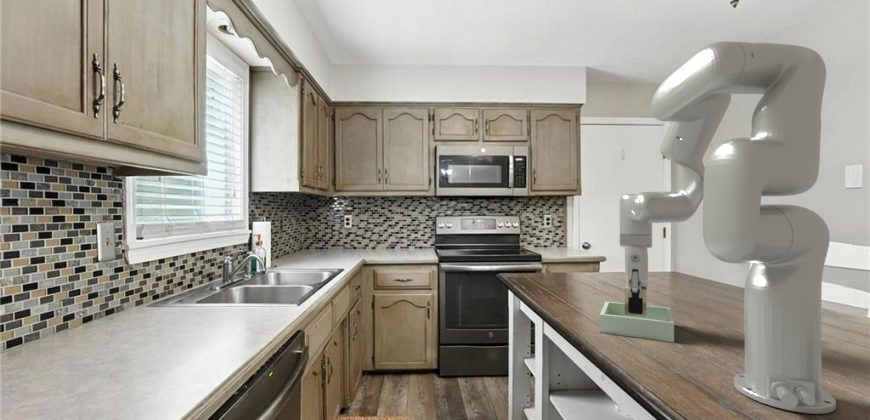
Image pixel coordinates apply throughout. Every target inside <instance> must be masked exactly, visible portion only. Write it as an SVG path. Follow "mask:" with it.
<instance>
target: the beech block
mask: <svg viewBox="0 0 870 420" xmlns="http://www.w3.org/2000/svg"><path fill="white" fill-rule="evenodd" d="M638 286H639V285H638ZM647 287H648V286H647ZM647 287H645V285H642V288H641V298H643V313H642V314H634V313H629V312H628V297H629V286H628V285H627V283H625V285H624V303H625V315H631V316H639V317H647V305H648V303H647V302H648V298H647V297H648V296H647V295H648V293H647V292H648V290H647V289H648V288H647ZM638 289H639V288H638Z"/></svg>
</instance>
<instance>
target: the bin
mask: <svg viewBox="0 0 870 420" xmlns="http://www.w3.org/2000/svg"><path fill="white" fill-rule="evenodd" d="M599 333H602V334H607V335H617V336H625V337H629V338H630V337H632V338H639V339H645V340H647V339H648V340H652V341H653V340H654V341H660V342H661V341H662V342H669V343H675V322H674V319H673V315H672V309H671V307H667V306H656V305H648V304H647V317H639V316H631V315H625V302H616V301H605V302H604V304H603V306H602V309H601V311H600V313H599Z"/></svg>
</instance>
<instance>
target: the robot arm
mask: <svg viewBox="0 0 870 420" xmlns="http://www.w3.org/2000/svg"><path fill="white" fill-rule="evenodd" d="M826 80H827V67H826V63H825V61H824V59H823V58H822V56H821V55H820V54H819V53H818V52H817V51H815V49H812V48H809V47H805V46H802V45H795V44H786V43H785V44H784V43H772V42H748V41H746V42H745V41H728V40H726V41H725V40H723V41H722V40H721V41H717V42H713V43H710V44H708V45H706V46H704V47H703V48H701V49H700V50H699V51H697V52H696V53H695V54H694V55H692V56H691V57H690V58H688V60H686V61H685V62H684V63H683V64H682V65H680V66H679V67H678V68H677V69H675V70H674V71H673V72H672V73H670V75H668V76H667V77H666V78H665V79H664V80H663V81H662V83H660V85H659V86H658V87H657V88H656V90H655V92H654V94H653V96H652V99H651V102H650V103H651V104H650V110H651V114H652V116H653V117H654V118H655V120H658V121H660V122H670V123H669V126H668V129H667V131H666V134H665V135H664V138H663V140H662V142H661V144H660V148H659V150H660V154H661V155H662V156H663V157H664V158H666V159H667V160H669V161H670V162H672V163H673V164H677V165H679V166H681V167H682V171H683V172H682V178H681V180H680V183H679V185H678V187H677V189H676V191H643V192H641V191H640V192H638V193H624V194H622V195H621V196H620V198H619V247H622V248H624V272H625V280H626V283H625V284H627V285H628V286H629V297H628V312H629V313H634V314H642V313H643V298H641V288H642V286H645V287H648V286H649V253H648V251H649V250H648V249H651V248H653V223H654V224H659V223H682V222H686V221H688V220H689V219H691V218H692V217H693V216H694V214H695V213H696V212H697V210H698V208H699V207H700V205H701V203H702V237H703V242H704V245H705V247H706V249H707V250H708V252H709V253H710V254H711V255H712V256H713V257H715V259H717V260H719V261H722V262H724V263H729V264H751V266H750V268H749V270H748V272H747V275H746V279H745V282H744V297H743V298H744V299H743V300H744V303H743V304H744V310H743V315H744V314H745V319H744V372H742V373H738V374H736V375H734V377H733V385H734V387H735V389H736V390H737V391H738V392H740V393H741V394H743V395H744V396H746V397H748V398H749V399H752V400H754V401H757V402H759V403H762V404H764V405H768V406H771V407H775V408H777V409H780V410H785V411H789V412H795V413H796V412H797V413H801V414H808V415H809V414H811V415H823V414H829V413H832V412H834V411H836V409H837V403H836V399H835V398H834V396H832V395H831V394H830V393H828V392H827V391H825V390H823V387H822V385H823V384H822V381H823V380H822V379H823V377H822V376H823V375H822V373H823V372H822V291H823V290H822V289H823V288H822V283H823V282H822V281H823V273H824V267H825V263H826V259H827V254H828V251H829V247H830V242H831V241H830V238H831V236H830V230H829V226H828V225H827V223H826V221H825V220H824V218H822V216H821V215H819V214H818V213H817V212H815V211H814V210H811V209H809V208H806V207H803V206H799V205H795V204H762V197H787V196H789V197H790V196H796V195H800V194H804V193H806V192H808V191H809V190H810V189H811V188H813V187H814V186H815V184H816V183H817V182H818V181H817V180H818V177H819V172H820V160H821V159H820V157H821V140H822V139H821V138H822V137H821V136H822V135H821V134H822V104H823V98H824V92H825V87H826ZM732 94H733V95H739V94H740V95H762V97H761V98H760V100H759V101H758V102H757V104H756V106H755V108H754V109H753V110H754V111H753V112H752V117H751V133H750V136H748V137H746V136H745V137H744V136H743V137H735V138H731V139H728V140H725V141H724V142H722V143H720V144H719V145H717V147H715V149H713V151H712V152H711V154H710V155H709V157H708V159H707V161H706V164H705V165H704V162H703V161H704V160H703V159H704V156H705V154H706V152H707V150H708V148H709V147H710V144H711V143H712V140H713V138H714V136H715V134H716V132H717V130H718V129H719V126H720V124H721V122H722V121H723V118H724V116H725V114H726V112H727V110H728V108H729V105H730V103H731V102H732V101H731V100H732ZM638 285H639V286H638ZM638 288H639V289H638Z"/></svg>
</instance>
